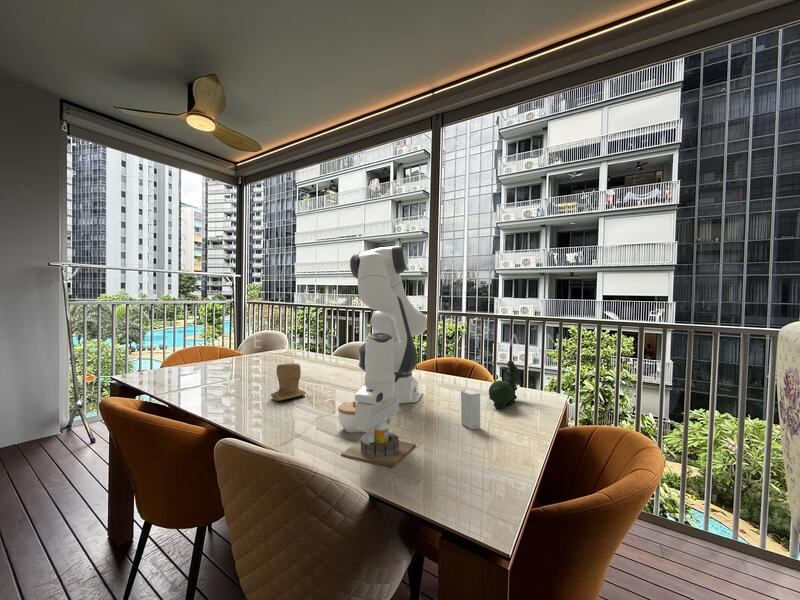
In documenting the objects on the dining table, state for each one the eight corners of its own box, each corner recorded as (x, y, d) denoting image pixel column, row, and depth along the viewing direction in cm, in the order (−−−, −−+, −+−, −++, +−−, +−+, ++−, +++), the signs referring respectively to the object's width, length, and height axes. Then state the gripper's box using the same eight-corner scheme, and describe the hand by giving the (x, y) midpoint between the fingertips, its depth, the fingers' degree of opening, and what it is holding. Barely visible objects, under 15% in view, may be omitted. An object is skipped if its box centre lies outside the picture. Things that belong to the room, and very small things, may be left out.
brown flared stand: (292, 391, 172) (293, 359, 171) (309, 396, 165) (310, 362, 164) (263, 398, 159) (263, 363, 159) (280, 404, 152) (280, 367, 152)
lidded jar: (343, 437, 119) (344, 408, 118) (333, 426, 128) (334, 399, 128) (374, 432, 124) (375, 404, 123) (362, 422, 133) (363, 395, 133)
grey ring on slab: (369, 436, 120) (370, 425, 120) (415, 446, 113) (415, 434, 113) (341, 455, 105) (341, 442, 105) (391, 468, 98) (391, 454, 98)
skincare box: (480, 428, 129) (481, 393, 129) (470, 430, 127) (471, 394, 127) (470, 422, 135) (470, 389, 134) (459, 424, 133) (460, 390, 132)
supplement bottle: (365, 450, 107) (367, 416, 107) (376, 444, 112) (377, 412, 112) (381, 454, 105) (382, 420, 105) (391, 448, 109) (392, 415, 109)
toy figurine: (501, 400, 169) (481, 409, 148) (503, 358, 170) (484, 361, 149) (522, 404, 164) (505, 414, 143) (524, 361, 165) (507, 364, 144)
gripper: (386, 381, 119) (385, 424, 120) (351, 396, 101) (350, 447, 101) (404, 383, 117) (403, 427, 117) (371, 399, 98) (370, 451, 98)
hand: (378, 436), depth 109 cm, fingers open, 6 cm apart
